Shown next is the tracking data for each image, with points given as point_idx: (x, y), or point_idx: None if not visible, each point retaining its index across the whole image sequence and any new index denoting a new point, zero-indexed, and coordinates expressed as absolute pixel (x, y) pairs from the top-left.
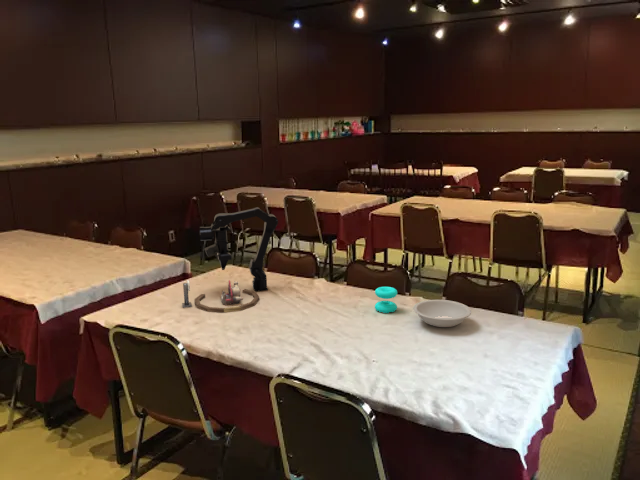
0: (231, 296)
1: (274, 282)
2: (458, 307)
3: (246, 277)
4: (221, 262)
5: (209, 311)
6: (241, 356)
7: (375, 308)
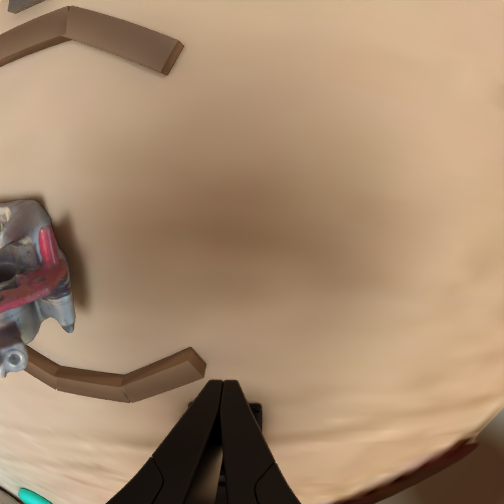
0: None
1: (308, 465)
2: None
3: (457, 382)
4: (127, 496)
5: None
6: None
7: (28, 493)
